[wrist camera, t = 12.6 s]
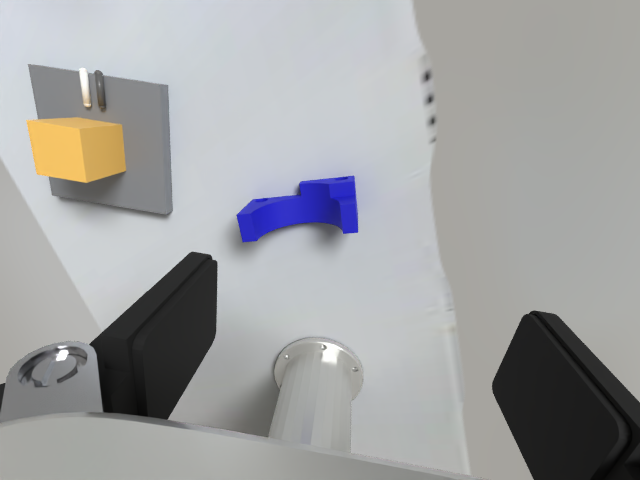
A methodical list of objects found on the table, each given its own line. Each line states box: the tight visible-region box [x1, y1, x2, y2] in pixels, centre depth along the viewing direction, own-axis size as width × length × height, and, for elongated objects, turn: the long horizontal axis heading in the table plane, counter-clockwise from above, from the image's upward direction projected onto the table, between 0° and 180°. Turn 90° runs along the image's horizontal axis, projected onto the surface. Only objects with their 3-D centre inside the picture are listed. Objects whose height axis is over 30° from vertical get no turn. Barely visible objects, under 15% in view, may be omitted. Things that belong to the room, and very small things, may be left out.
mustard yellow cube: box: [26, 117, 126, 183], centre depth 34 cm, size 5×5×6 cm
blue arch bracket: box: [237, 176, 358, 242], centre depth 36 cm, size 12×4×6 cm, turn 97°
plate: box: [28, 64, 173, 214], centre depth 35 cm, size 14×14×6 cm
